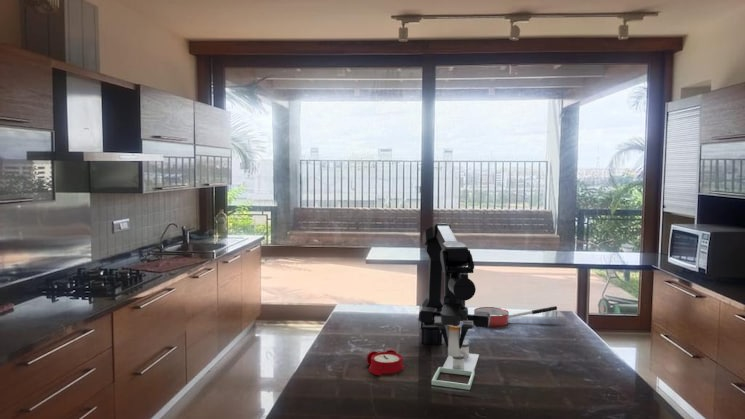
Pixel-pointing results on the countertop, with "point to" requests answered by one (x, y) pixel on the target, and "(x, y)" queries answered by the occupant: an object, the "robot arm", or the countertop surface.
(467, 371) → the tray
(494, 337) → the countertop surface
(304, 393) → the countertop surface
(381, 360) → the alarm clock
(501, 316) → the frying pan
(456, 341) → the cylinder
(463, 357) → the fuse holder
